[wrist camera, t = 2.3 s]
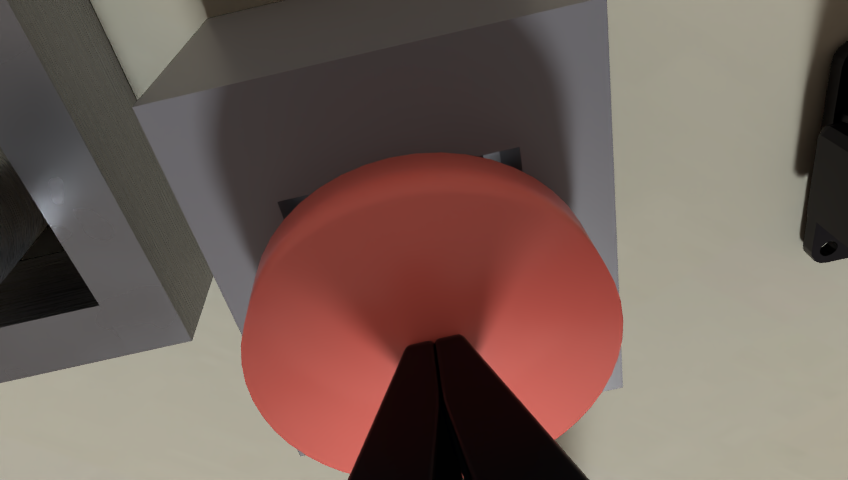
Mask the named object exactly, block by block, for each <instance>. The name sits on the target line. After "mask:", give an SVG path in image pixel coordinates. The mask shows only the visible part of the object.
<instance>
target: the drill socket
mask: <svg viewBox="0 0 848 480" xmlns="http://www.w3.org/2000/svg"><path fill="white" fill-rule="evenodd" d="M136 102H137V100H136V98H135V96H134V94H133V92H132V90H131V88H130V86H129V84H128V81H127V79H126V77H125V75H124V73H123V71H122V69H121V67H120V65H119V62H118V60H117V58H116V56H115V54H114V52H113V50H112V48H111V46H110V44H109V41H108V39H107V37H106V35H105V33H104V31H103V29H102V27H101V25H100V22H99V20H98V18H97V16H96V14H95V12H94V10H93V8H92V6H91V4H90V1H89V0H0V147H1V149H2V150H3V152H4V154H5V155H6V157H7V158H8V160H9V162H10V163H11V165H12V166H13V168H14V170H15V171H16V173H17V174H18V176H19V178H20V179H21V181H22V182H23V184H24V185H25V187H26V189H27V190H28V192H29V193H30V195H31V197H32V198H33V200H34V201H35V203H36V205H37V206H38V208H39V209H40V211H41V213H42V214H43V216H44V217H45V219H46V221H47V222H48V224H49V225H50V227H51V229H52V230H53V232H54V233H55V235H56V237H57V238H58V240H59V241H60V243H61V245H62V246H63V248H64V249H65V251H64V252H60V253H55V254H51V255H46V256H42V257H37V258H33V259H29V260H24V261H20V262H18V263H17V264H16V265H15V266H14V268H13V269H12V270H11V271H10V273H9V274H8V275H7V276H6V278H5V279H4V280H3V281H2V283H1V284H0V383H2V382H7V381H11V380H16V379H21V378H25V377H30V376H34V375H39V374H43V373H48V372H52V371H57V370H61V369H66V368H70V367H75V366H80V365H84V364H89V363H93V362H98V361H102V360H107V359H111V358H116V357H120V356H125V355H129V354H134V353H138V352H143V351H148V350H152V349H157V348H161V347H166V346H170V345H175V344H179V343H184V342H188V341H192V339H193V336H194V333H195V330H196V327H197V324H198V321H199V318H200V315H201V312H202V309H203V306H204V303H205V300H206V297H207V293H208V290H209V287H210V284H211V281H212V278H213V274H212V272H211V270H210V268H209V266H208V263H207V261H206V259H205V257H204V255H203V253H202V251H201V249H200V247H199V245H198V243H197V241H196V239H195V236H194V234H193V232H192V230H191V228H190V226H189V224H188V222H187V220H186V218H185V216H184V214H183V212H182V209H181V207H180V205H179V203H178V201H177V199H176V197H175V195H174V193H173V191H172V189H171V187H170V185H169V183H168V180H167V178H166V176H165V174H164V172H163V170H162V168H161V166H160V164H159V162H158V160H157V158H156V156H155V153H154V151H153V149H152V147H151V145H150V143H149V141H148V139H147V137H146V135H145V133H144V131H143V129H142V126H141V124H140V122H139V120H138V118H137V116H136V114H135V112H134V110H133V108H132V107H133V106H134V105H135V103H136Z"/></svg>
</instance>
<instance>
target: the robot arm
mask: <svg viewBox="0 0 848 480" xmlns="http://www.w3.org/2000/svg"><path fill="white" fill-rule="evenodd" d="M807 214H808V217H807V223H806V230H805V236H804V243H803V249H804V251H805V252H806V253H807V254H808V255H809V256H810V257H811V258H812V259H813V260H814V261H816V262H819V263H826V262H831V261H835V260H840V259H845V258H848V41H847V42H845V43H844V44H843V45H842V46H840V47H839V49H838V50H837V51H836V53H835V54H834V56H833V59H832V62H831V68H830V75H829V81H828V87H827V94H826V100H825V107H824V113H823V120H822V126H821V132H820V134H819V136H818V141H817V148H816V154H815V161H814V167H813V174H812V180H811V187H810V194H809V200H808V207H807ZM825 243H827V244H826V245H824V244H825ZM823 245H824V246H823ZM822 246H823V247H822ZM463 478H464V480H589V479H588V478H587V477H586V475H585V474H584V473H583V472H582V471H581V470H580V469H579V467H578V466H577V465H576V464H575V463H574V462H573V461H572V459H571V458H570V457H569V456H568V455H567V454H566V453H565V451H564V450H563V449H562V448H561V447H560V446H559V445H558V443H557V442H556V441H555V440H554V439H553V438H552V437H551V435H550V434H549V433H548V432H547V431H546V430H545V429H544V427H543V426H542V425H541V424H540V423H539V422H538V421H537V419H536V418H535V417H534V416H533V415H532V414H531V413H530V411H529V410H528V409H527V408H526V407H525V406H524V405H523V403H522V402H521V401H520V400H519V399H518V398H517V397H516V395H515V394H514V393H513V392H512V391H511V390H510V389H509V387H508V386H507V385H506V384H505V383H504V382H503V381H502V379H501V378H500V377H499V376H498V375H497V374H496V373H495V371H494V370H493V369H492V368H491V367H490V366H489V364H488V363H487V362H486V361H485V360H484V359H483V358H482V356H481V355H480V354H479V353H478V352H477V351H476V350H475V348H474V347H473V346H472V345H471V344H470V343H469V342H468V340H467V339H466V338H465V337H464V336H462V335H460V334H457V335H452V336H448V337H443V338H439V339H437V340H436V342H435V344H434V342H433V341H425V342H420V343H416V344H411V345H408V346H407V347H406V348H405V350H404V352H403V354H402V357H401V359H400V361H399V364H398V366H397V368H396V370H395V373H394V375H393V377H392V380H391V382H390V384H389V386H388V389H387V391H386V393H385V396H384V398H383V400H382V402H381V405H380V407H379V409H378V412H377V414H376V416H375V419H374V421H373V423H372V425H371V428H370V430H369V432H368V435H367V437H366V439H365V441H364V444H363V446H362V448H361V451H360V453H359V455H358V457H357V460H356V462H355V464H354V467H353V469H352V471H351V473H350V476H349V478H348V480H463Z"/></svg>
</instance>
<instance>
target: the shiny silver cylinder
mask: <svg viewBox="0 0 848 480" xmlns="http://www.w3.org/2000/svg"><path fill="white" fill-rule="evenodd" d="M47 226H48V222H47V221H46V219H45V217H44V216H43V214H42V213H41V211H40V209H39V208H38V206H37V205H36V203H35V201H34V200H33V198H32V197H31V195H30V193H29V192H28V190H27V189H26V187H25V185H24V184H23V182H22V181H21V179H20V178H19V176H18V174H17V173H16V171H15V170H14V168H13V166H12V165H11V163H10V162H9V160H8V158H7V157H6V155H5V154H4V152H3V150H2V149H1V147H0V284H1V283H2V281H3V280H4V279H5V278H6V276H7V275H8V274H9V273H10V271H11V270H12V269H13V268H14V266H15V265H16V264H17V263H18V262H19V260H20V259H21V258H22V257H23V255H24V254H25V253H26V252H27V250H28V249H29V248H30V247H31V245H32V244H33V243H34V242H35V240H36V239H37V238H38V237H39V235H40V234H41V233H42V232H43V231H44V229H45V228H46V227H47Z"/></svg>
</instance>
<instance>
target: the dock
mask: <svg viewBox="0 0 848 480" xmlns="http://www.w3.org/2000/svg"><path fill="white" fill-rule="evenodd" d="M132 108H133V110H134V112H135V114H136V116H137V118H138V120H139V122H140V124H141V126H142V129H143V131H144V133H145V135H146V137H147V139H148V141H149V143H150V145H151V147H152V149H153V151H154V153H155V156H156V158H157V160H158V162H159V164H160V166H161V168H162V170H163V172H164V174H165V176H166V178H167V180H168V183H169V185H170V187H171V189H172V191H173V193H174V195H175V197H176V199H177V201H178V203H179V205H180V207H181V209H182V212H183V214H184V216H185V218H186V220H187V222H188V224H189V226H190V228H191V230H192V232H193V234H194V236H195V239H196V241H197V243H198V245H199V247H200V249H201V251H202V253H203V255H204V257H205V259H206V261H207V263H208V266H209V268H210V270H211V272H212V274H213V276H214V278H215V280H216V282H217V284H218V286H219V288H220V290H221V292H222V295H223V297H224V299H225V301H226V303H227V305H228V307H229V309H230V311H231V313H232V315H233V317H234V319H235V322H236V324H237V326H238V328H239V330H240V332H241V334H242V335H243V328H244V323H245V318H246V314H247V310H248V305H249V301H250V297H251V292H252V288H253V284H254V279H255V275H256V272H257V269H258V266H259V263H260V259H261V256H262V254H263V252H264V250H265V248H266V246H267V244H268V242H269V240H270V238H271V237H272V235H273V234H274V232H275V231H276V230H277V228H278V227H279V226H280V224H281V223H282V221H283V220H284V219H285V218H286V217H287V216H288V215H289V214H290V213H291V212H292V211H293V209H294V208H295V207H296V206H297V205H298V204H299V203H300V202H302V201H303V200H304V199H305V198H307V197H308V196H309V195H311V194H312V193H313V192H314V191H316V190H317V189H318V188H320V187H321V186H323V185H325V184H326V183H328V182H330V181H332V180H333V179H335V178H337V177H338V176H340V175H342V174H345V173H347V172H349V171H352V170H354V169H356V168H359V167H361V166H363V165H366V164H370V163H373V162H376V161H380V160H383V159H387V158H391V157H397V156H403V155H409V154H416V153H439V152H442V153H455V154H467V155H472V156H482V155H483V157H484V158H486V159H491V160H494V161H497V162H500V163H503V164H506V165H508V166H511V167H514V168H516V169H518V170H520V171H522V172H524V173H526V174H528V175H530V176H532V177H534V178H535V179H537V180H538V181H540V182H541V183H542V184H544V185H545V186H547V187H548V188H550V189H551V190H552V191H553V192H554V193H555V194H557V195H558V196H559V197H560V198H561V199H562V200H563V201H564V202H565V203H566V204H567V205H568V206H569V208H570V209H571V210H572V212H573V213H574V214H575V216H576V217H577V218H578V220H579V221H580V223H581V224H582V226H583V228H584V229H585V231H586V233H587V234H588V236H589V238H590V240H591V241H592V243H593V245H594V246H595V248H596V250H597V251H598V253H599V255H600V256H601V258H602V260H603V261H604V263H605V265H606V267H607V269H608V270H609V272H610V274H611V276H612V278H613V280H614V282H615V285H616V288H617V291H618V294H619V283H618V259H617V235H616V211H615V187H614V162H613V138H612V114H611V90H610V66H609V42H608V17H607V0H284V1H280V2H276V3H272V4H267V5H263V6H259V7H255V8H250V9H246V10H242V11H238V12H234V13H229V14H225V15H221V16H217V17H212V18H208V19H207V20H206V21H205V22H204V23H203V24H202V26H201V27H200V28H199V29H198V30H197V32H196V33H195V34H194V35H193V36H192V37H191V39H190V40H189V41H188V42H187V43H186V44H185V46H184V47H183V48H182V49H181V50H180V52H179V53H178V54H177V55H176V56H175V57H174V59H173V60H172V61H171V62H170V63H169V64H168V66H167V67H166V68H165V69H164V70H163V72H162V73H161V74H160V75H159V76H158V77H157V79H156V80H155V81H154V82H153V83H152V84H151V86H150V87H149V88H148V89H147V90H146V92H145V93H144V94H143V95H142V96H141V97H140V99H139V100H138V101H137V102H136V103H135V105H134V106H133V107H132ZM622 387H623V380H622V356H621V347H620V352H619V356H618V359H617V362H616V365H615V367H614V370H613V372H612V375H611V377H610V379H609V380H608V382H607V384H606V386H605V388H604V389H603V391H608V390H612V389H617V388H622ZM603 391H602V392H603ZM297 450H298V449H297ZM298 452H299V454H300V456H303V455H305V454H304V453H302V452H301V451H299V450H298Z"/></svg>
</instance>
